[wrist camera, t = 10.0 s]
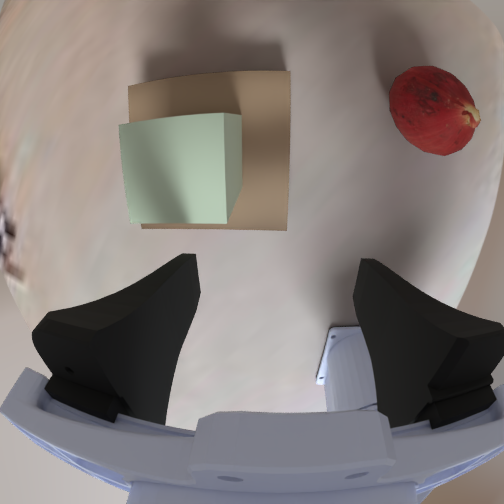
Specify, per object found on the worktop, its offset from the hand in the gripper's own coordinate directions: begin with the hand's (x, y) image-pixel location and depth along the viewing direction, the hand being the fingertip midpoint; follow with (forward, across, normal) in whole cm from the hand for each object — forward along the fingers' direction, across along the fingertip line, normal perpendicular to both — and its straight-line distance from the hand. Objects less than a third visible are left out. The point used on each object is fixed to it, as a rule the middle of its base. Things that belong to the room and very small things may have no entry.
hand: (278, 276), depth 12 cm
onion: (+10, -10, -8) cm, 16 cm away
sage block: (+6, +4, -4) cm, 9 cm away
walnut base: (+9, +4, -4) cm, 11 cm away
